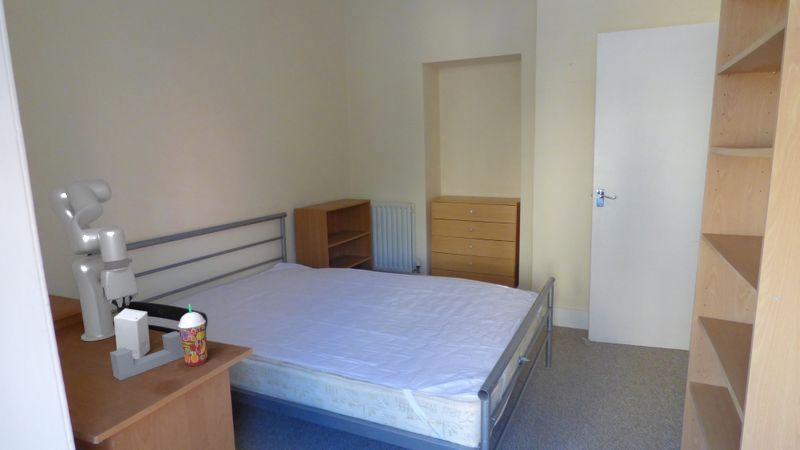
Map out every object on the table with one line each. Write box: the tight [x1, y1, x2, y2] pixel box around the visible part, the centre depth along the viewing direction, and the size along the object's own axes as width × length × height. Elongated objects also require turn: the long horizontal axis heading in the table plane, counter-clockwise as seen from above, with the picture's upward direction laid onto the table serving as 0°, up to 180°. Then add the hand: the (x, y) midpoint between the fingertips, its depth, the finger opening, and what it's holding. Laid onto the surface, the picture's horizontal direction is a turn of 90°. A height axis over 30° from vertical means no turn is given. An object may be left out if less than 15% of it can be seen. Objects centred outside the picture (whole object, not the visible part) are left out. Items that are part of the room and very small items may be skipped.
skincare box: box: [113, 308, 151, 360], centre depth 171 cm, size 8×7×16 cm
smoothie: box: [177, 303, 208, 367], centre depth 165 cm, size 8×8×20 cm
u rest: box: [109, 330, 185, 381], centre depth 165 cm, size 5×21×8 cm, turn 141°
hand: (124, 316), depth 173 cm, fingers closed
